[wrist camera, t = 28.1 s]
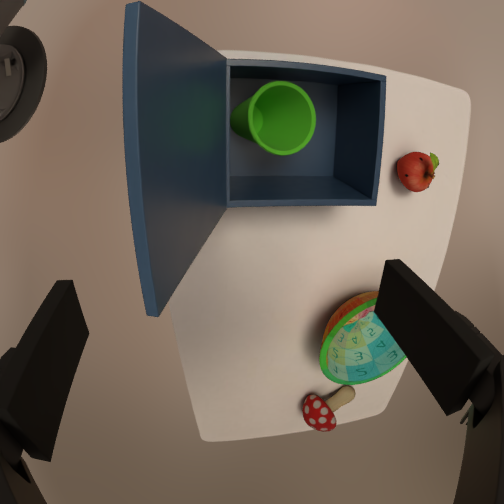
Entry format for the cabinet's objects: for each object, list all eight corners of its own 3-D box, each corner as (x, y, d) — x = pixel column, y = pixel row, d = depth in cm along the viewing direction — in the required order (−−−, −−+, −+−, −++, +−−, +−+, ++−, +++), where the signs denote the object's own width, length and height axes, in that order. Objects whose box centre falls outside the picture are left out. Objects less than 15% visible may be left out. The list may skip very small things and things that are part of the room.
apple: (423, 170, 52) (457, 183, 43) (399, 192, 53) (431, 209, 44) (405, 137, 49) (440, 146, 40) (379, 159, 50) (412, 172, 41)
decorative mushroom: (373, 402, 66) (324, 439, 61) (357, 407, 76) (313, 439, 71) (348, 367, 71) (298, 402, 66) (335, 376, 80) (290, 407, 76)
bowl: (312, 366, 69) (324, 398, 60) (297, 288, 59) (313, 320, 50) (398, 334, 69) (418, 361, 60) (400, 254, 59) (428, 279, 50)
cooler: (340, 81, 44) (386, 75, 31) (335, 180, 51) (376, 205, 38) (217, 74, 41) (222, 58, 28) (218, 180, 48) (223, 207, 36)
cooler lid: (140, 0, 10) (124, 3, 10) (158, 318, 17) (146, 316, 17) (226, 58, 28) (219, 58, 28) (226, 209, 35) (219, 209, 35)
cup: (282, 110, 45) (327, 107, 36) (256, 161, 46) (296, 169, 37) (234, 79, 41) (271, 65, 31) (205, 132, 42) (234, 132, 32)
